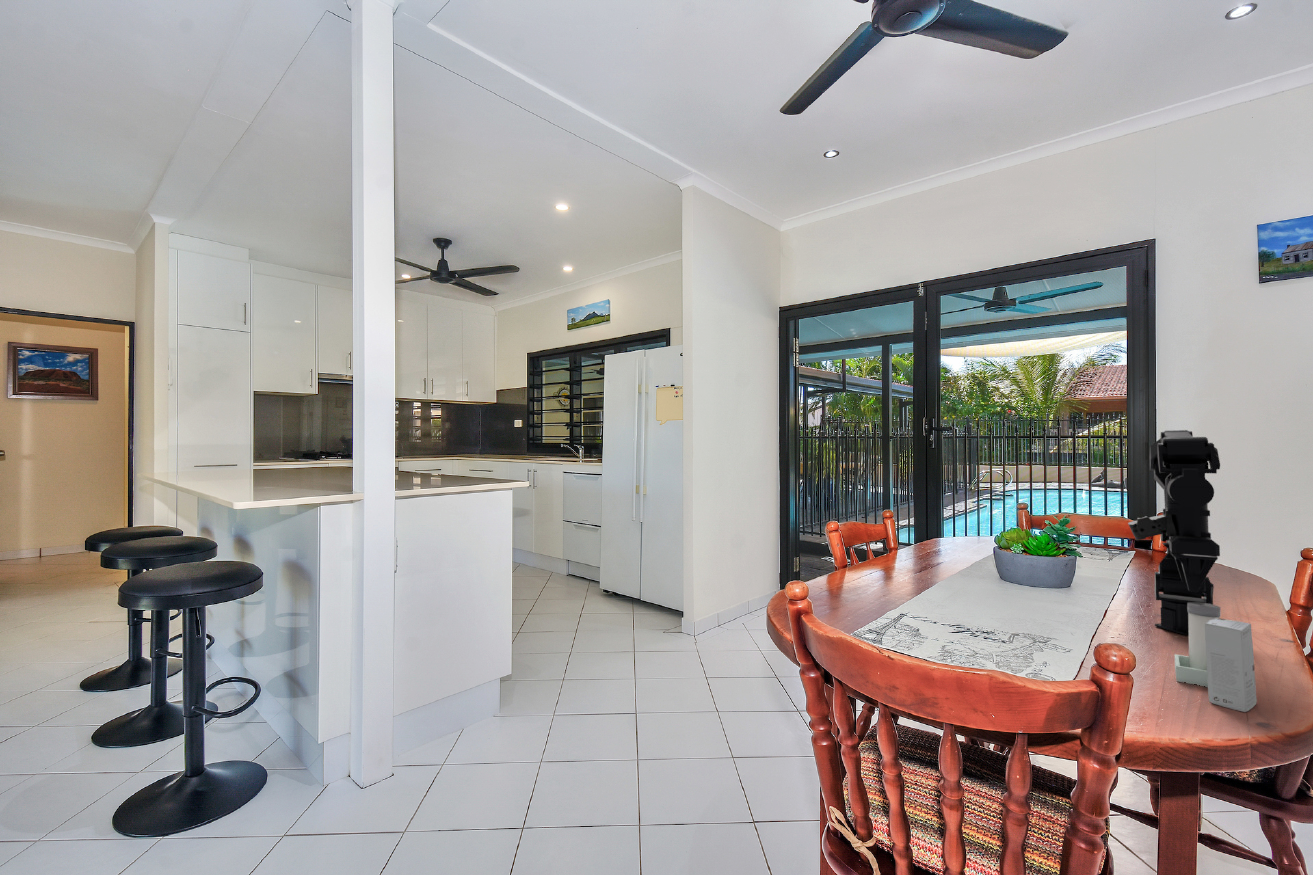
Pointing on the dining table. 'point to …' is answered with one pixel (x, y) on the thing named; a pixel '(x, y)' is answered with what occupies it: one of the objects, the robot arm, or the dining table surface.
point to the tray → (1189, 672)
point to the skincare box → (1230, 664)
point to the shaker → (1199, 631)
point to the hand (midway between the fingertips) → (1189, 586)
